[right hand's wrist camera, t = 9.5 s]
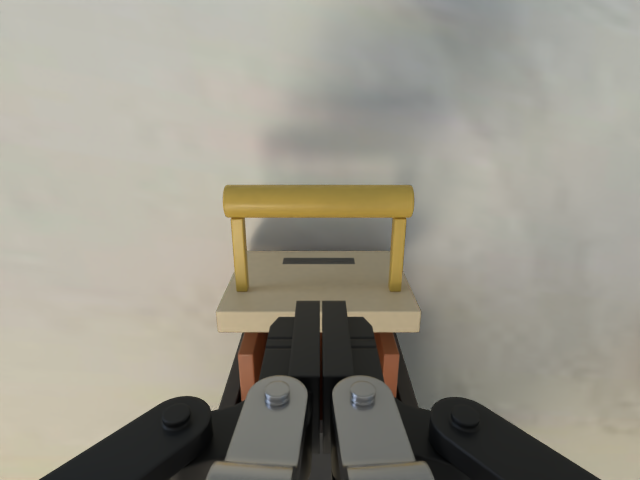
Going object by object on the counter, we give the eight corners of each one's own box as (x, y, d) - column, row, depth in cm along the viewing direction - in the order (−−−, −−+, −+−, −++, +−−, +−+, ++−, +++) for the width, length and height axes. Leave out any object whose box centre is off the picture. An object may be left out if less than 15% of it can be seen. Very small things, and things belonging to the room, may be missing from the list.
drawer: (237, 164, 25) (203, 196, 18) (399, 165, 25) (433, 196, 18) (255, 428, 32) (237, 529, 25) (382, 428, 32) (400, 529, 25)
